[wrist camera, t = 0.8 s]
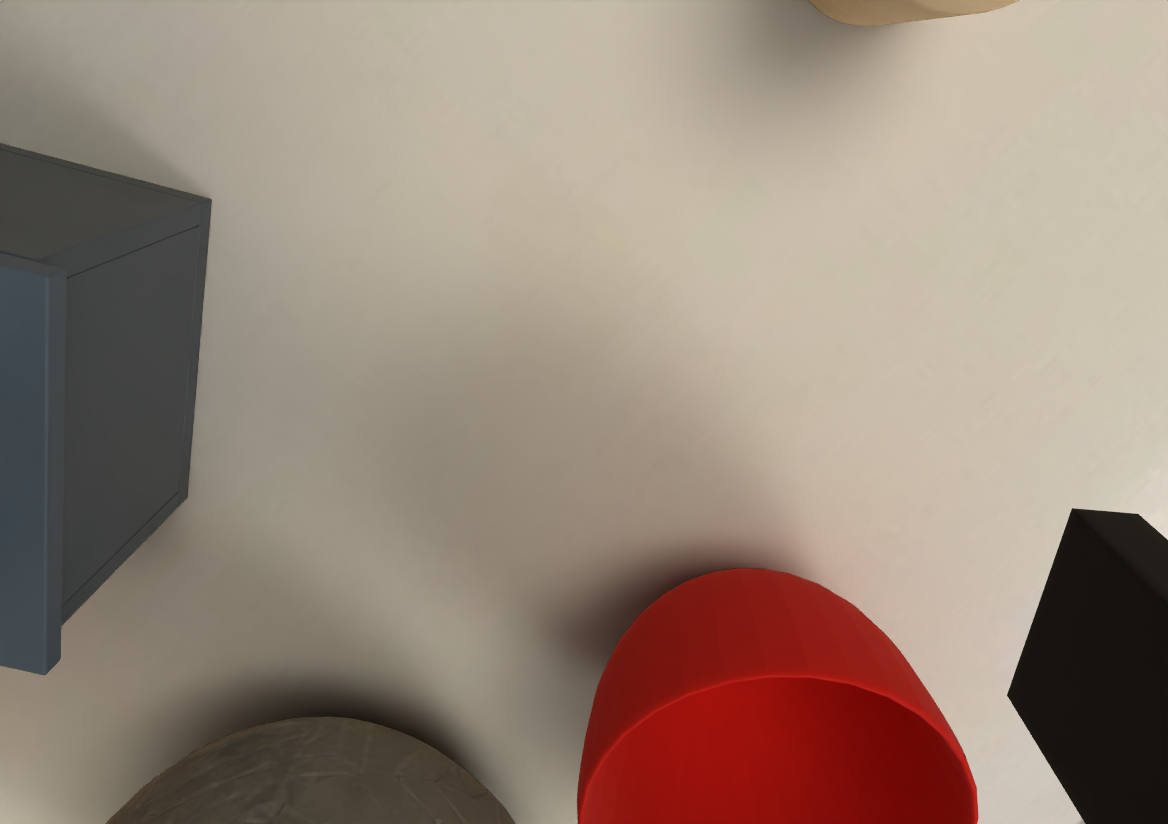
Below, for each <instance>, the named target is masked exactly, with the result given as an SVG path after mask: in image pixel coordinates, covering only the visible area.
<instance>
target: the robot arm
mask: <svg viewBox="0 0 1168 824" xmlns="http://www.w3.org/2000/svg"><path fill="white" fill-rule="evenodd" d="M1007 696H1008V698H1009V699H1010V701H1011V702H1012V704H1013V706H1014V707H1015V709H1016V711H1017V712H1018V714H1019V716H1020V717H1021V719H1022V720H1023V722H1024V724H1025V725H1026V727H1027V729H1028V730H1029V732H1030V734H1031V735H1032V737H1033V738H1034V740H1035V742H1036V743H1037V745H1038V747H1039V748H1040V750H1041V752H1042V753H1043V755H1044V757H1045V758H1046V760H1047V761H1048V763H1049V765H1050V766H1051V768H1052V770H1053V771H1054V773H1055V775H1056V776H1057V778H1058V779H1059V781H1060V783H1061V784H1062V786H1063V788H1064V789H1065V791H1066V793H1067V794H1068V796H1069V797H1070V799H1071V801H1072V802H1073V804H1074V806H1075V807H1076V809H1077V811H1078V812H1079V814H1080V815H1081V817H1082V819H1083V820H1084V822H1085V824H1168V540H1167V539H1166V538H1165V537H1164V536H1163V535H1161V534H1160V533H1159V532H1158V531H1157V530H1156V529H1155V528H1153V527H1152V526H1151V525H1150V524H1149V523H1148V522H1147V521H1145V520H1144V519H1143V518H1142V517H1141V516H1140V515H1139V514H1131V513H1120V512H1108V511H1096V510H1084V509H1073V508H1072V510H1071V513H1070V516H1069V519H1068V522H1067V525H1066V527H1065V530H1064V533H1063V536H1062V539H1061V542H1060V545H1059V548H1058V550H1057V553H1056V556H1055V559H1054V562H1053V565H1052V568H1051V571H1050V573H1049V576H1048V579H1047V582H1046V585H1045V588H1044V591H1043V594H1042V596H1041V599H1040V602H1039V605H1038V608H1037V611H1036V614H1035V617H1034V619H1033V622H1032V625H1031V628H1030V631H1029V634H1028V637H1027V640H1026V642H1025V645H1024V648H1023V651H1022V654H1021V657H1020V660H1019V663H1018V665H1017V668H1016V671H1015V674H1014V677H1013V680H1012V683H1011V685H1010V688H1009V691H1008V694H1007Z"/></svg>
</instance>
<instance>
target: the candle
mask: <svg viewBox="0 0 1168 824" xmlns="http://www.w3.org/2000/svg"><path fill="white" fill-rule="evenodd" d="M808 1H809V2H811V3H812V4H813V5H814V6H815V7H816V8H817V9H818V10H819V11H821V12H822V13H824V14H825V15H827V16H829V17H831V18H833V19H835V20H837V21H840V22H843V23H846V24H851V25H857V26H878V25H887V24H895V23H903V22H911V21H919V20H928V19H936V18H944V17H952V16H960V15H968V14H976V13H984V12H988V11H991V10H995V9H999V8H1002V7H1004V6H1007V5H1009V4H1012V3H1014V2H1017V1H1019V0H808Z"/></svg>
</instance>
